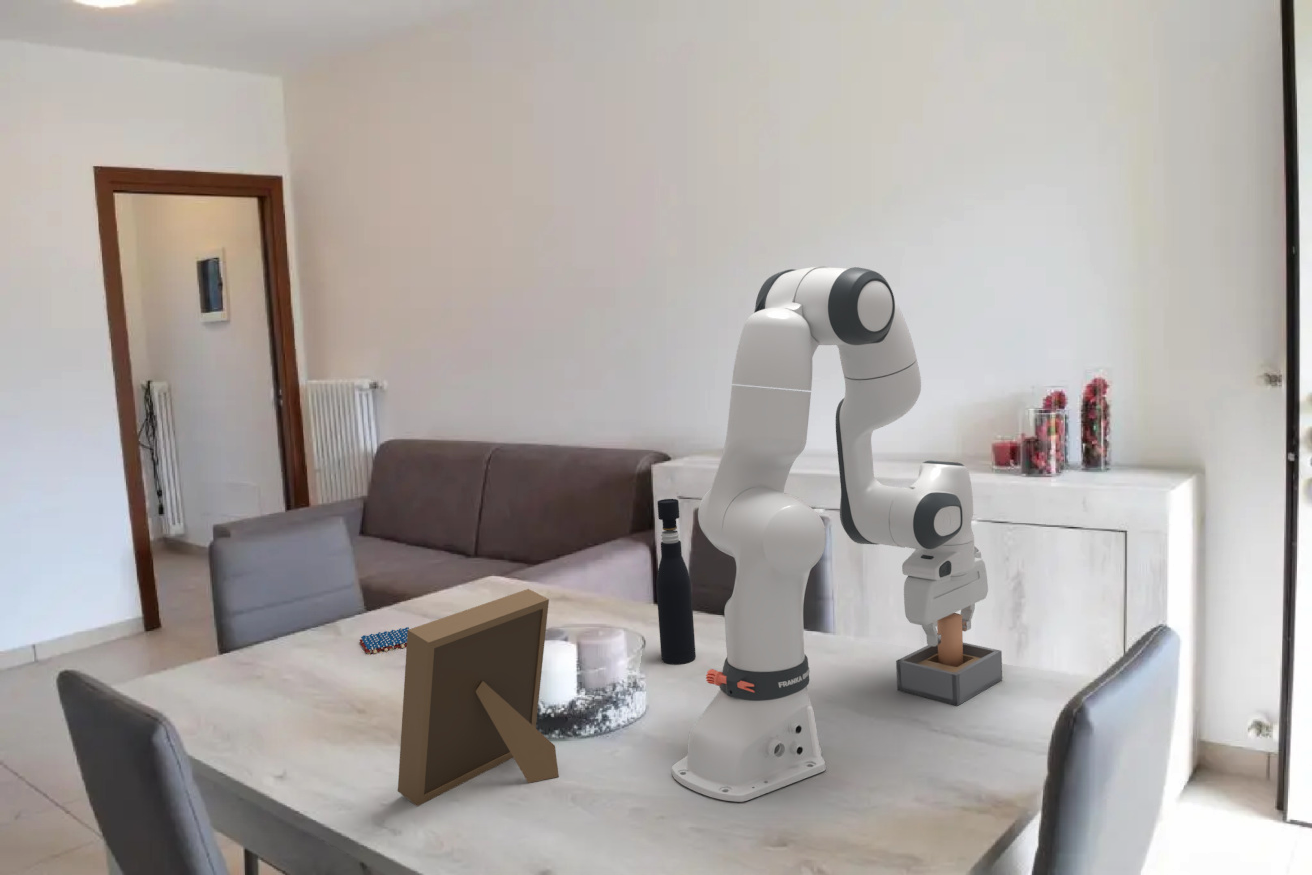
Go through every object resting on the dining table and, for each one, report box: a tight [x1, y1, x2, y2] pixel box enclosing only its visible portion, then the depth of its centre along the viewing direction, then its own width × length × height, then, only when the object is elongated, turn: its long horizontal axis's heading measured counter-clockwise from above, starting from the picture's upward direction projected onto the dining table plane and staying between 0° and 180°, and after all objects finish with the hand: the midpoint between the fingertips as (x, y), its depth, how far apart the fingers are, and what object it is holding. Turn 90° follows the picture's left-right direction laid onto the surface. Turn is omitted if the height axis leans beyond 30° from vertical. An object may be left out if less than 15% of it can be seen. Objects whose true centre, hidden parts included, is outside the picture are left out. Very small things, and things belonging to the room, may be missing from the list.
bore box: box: [895, 642, 1003, 707], centre depth 165 cm, size 14×11×5 cm
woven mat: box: [359, 626, 410, 656], centre depth 208 cm, size 10×11×2 cm
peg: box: [936, 612, 964, 667], centre depth 168 cm, size 4×4×10 cm
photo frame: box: [397, 588, 559, 807], centre depth 141 cm, size 15×22×25 cm
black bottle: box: [655, 498, 697, 665], centre depth 186 cm, size 6×6×30 cm
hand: (949, 637), depth 168 cm, fingers open, 8 cm apart
